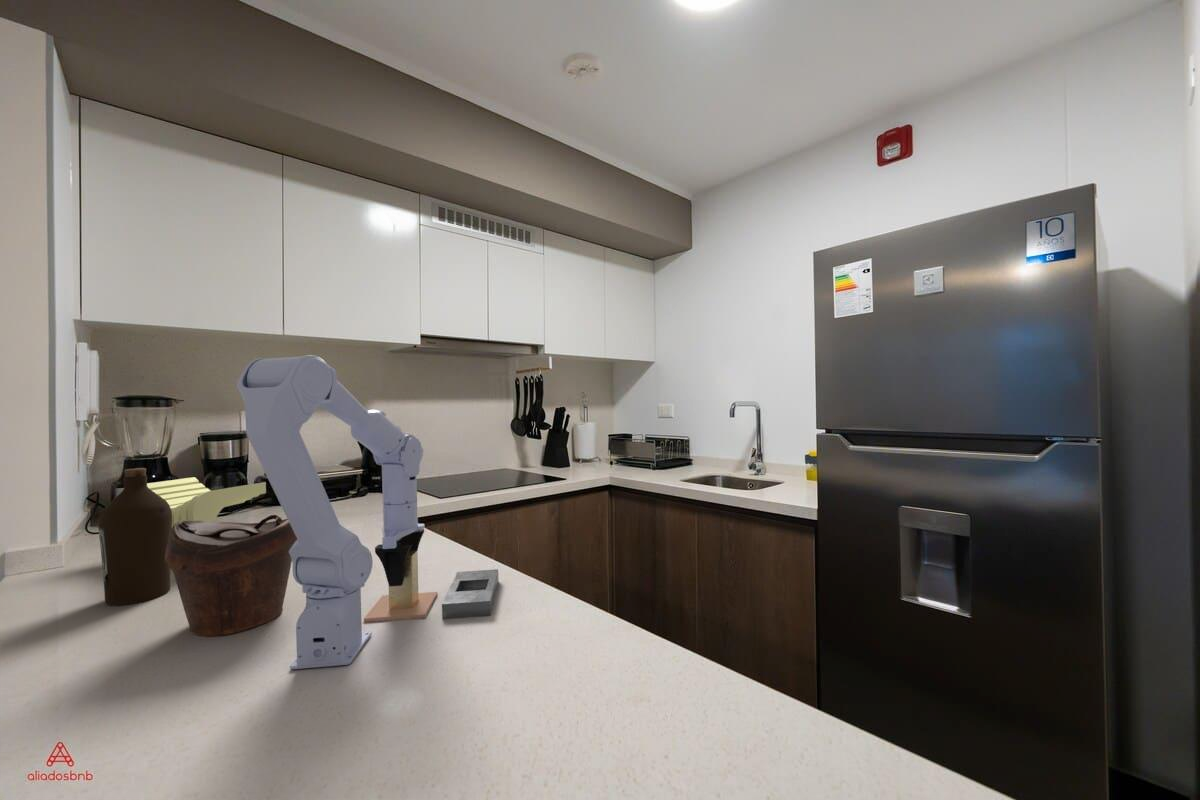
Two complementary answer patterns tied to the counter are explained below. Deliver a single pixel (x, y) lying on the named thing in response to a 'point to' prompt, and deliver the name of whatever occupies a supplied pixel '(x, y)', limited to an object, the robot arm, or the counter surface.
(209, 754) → the counter surface
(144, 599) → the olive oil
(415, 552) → the brass bar
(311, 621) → the robot arm
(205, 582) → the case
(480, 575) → the grey slotted block
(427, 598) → the terracotta tile
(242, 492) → the slatted curved stool
